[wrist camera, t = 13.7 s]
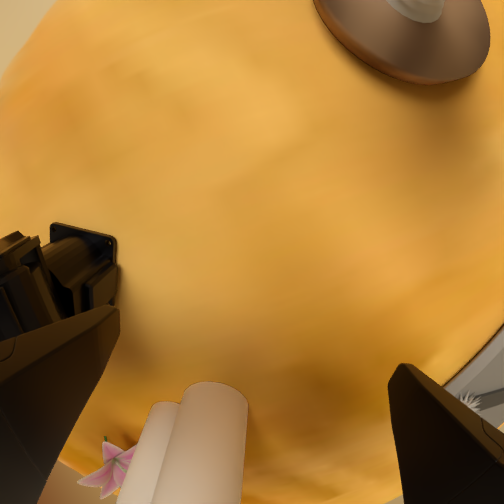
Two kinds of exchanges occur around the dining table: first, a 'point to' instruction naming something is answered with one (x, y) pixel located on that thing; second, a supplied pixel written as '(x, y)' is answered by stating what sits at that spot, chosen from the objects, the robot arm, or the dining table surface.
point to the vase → (190, 450)
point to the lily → (110, 469)
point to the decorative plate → (483, 382)
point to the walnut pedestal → (411, 38)
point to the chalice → (419, 9)
